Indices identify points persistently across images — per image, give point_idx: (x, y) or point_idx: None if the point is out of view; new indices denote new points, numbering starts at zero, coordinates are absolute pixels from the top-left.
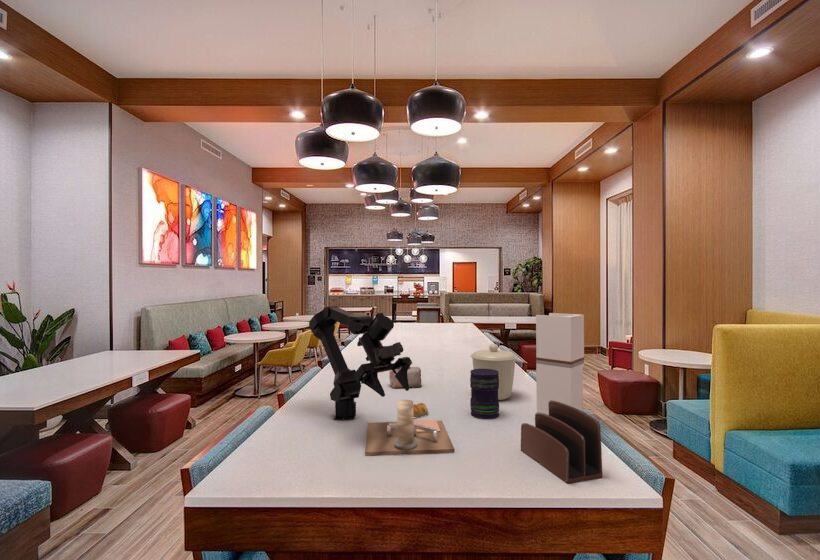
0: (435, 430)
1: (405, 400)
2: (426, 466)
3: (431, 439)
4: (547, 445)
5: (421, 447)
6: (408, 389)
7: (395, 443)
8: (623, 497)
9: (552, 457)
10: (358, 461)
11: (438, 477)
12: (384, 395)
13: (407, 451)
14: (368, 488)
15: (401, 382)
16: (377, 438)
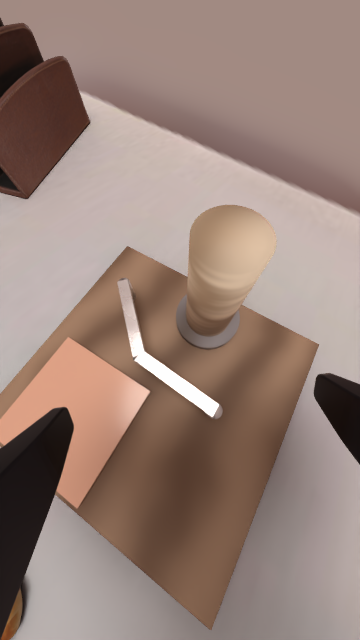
0: (121, 282)
1: (217, 254)
2: None
3: None
4: (45, 101)
5: (180, 289)
6: (63, 407)
7: (239, 318)
8: None
9: (62, 112)
10: (336, 329)
11: (221, 203)
12: (321, 376)
13: None
14: (345, 231)
15: (8, 574)
16: (251, 412)
